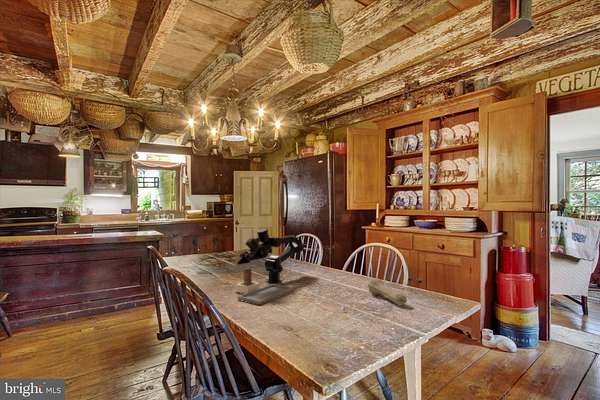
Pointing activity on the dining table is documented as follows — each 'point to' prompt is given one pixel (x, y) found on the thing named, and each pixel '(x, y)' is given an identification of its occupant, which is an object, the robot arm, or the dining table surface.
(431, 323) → the dining table surface
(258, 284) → the square frame
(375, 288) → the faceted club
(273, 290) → the tray
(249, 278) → the pin
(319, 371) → the dining table surface
